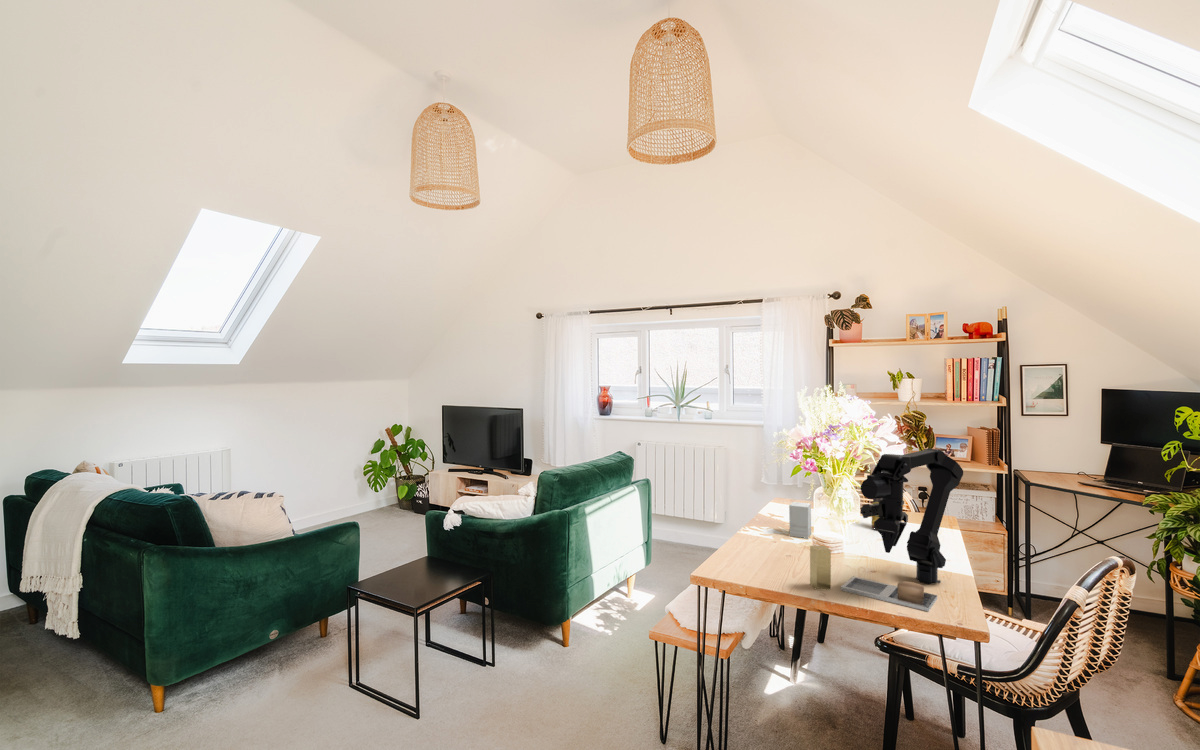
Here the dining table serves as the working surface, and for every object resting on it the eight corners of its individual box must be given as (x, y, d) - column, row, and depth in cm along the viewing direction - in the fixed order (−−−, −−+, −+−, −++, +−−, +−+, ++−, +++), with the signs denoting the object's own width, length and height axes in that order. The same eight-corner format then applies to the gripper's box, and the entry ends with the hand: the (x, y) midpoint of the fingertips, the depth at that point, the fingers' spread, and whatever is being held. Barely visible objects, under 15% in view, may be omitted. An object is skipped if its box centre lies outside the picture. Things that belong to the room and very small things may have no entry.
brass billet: (823, 584, 176) (823, 545, 176) (830, 589, 172) (830, 550, 172) (810, 584, 176) (810, 545, 176) (816, 589, 171) (816, 550, 171)
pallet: (853, 582, 177) (853, 576, 177) (937, 602, 162) (937, 595, 162) (840, 593, 169) (840, 586, 169) (928, 615, 154) (928, 608, 154)
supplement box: (811, 534, 230) (811, 503, 230) (808, 539, 224) (808, 507, 223) (792, 531, 234) (792, 501, 234) (788, 536, 227) (788, 504, 227)
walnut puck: (900, 593, 166) (900, 579, 166) (926, 599, 162) (926, 585, 162) (894, 600, 161) (894, 586, 161) (920, 606, 157) (920, 592, 157)
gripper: (869, 489, 182) (868, 537, 182) (856, 497, 167) (854, 550, 167) (908, 494, 176) (907, 544, 175) (898, 503, 161) (896, 558, 160)
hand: (890, 549), depth 170 cm, fingers open, 9 cm apart
